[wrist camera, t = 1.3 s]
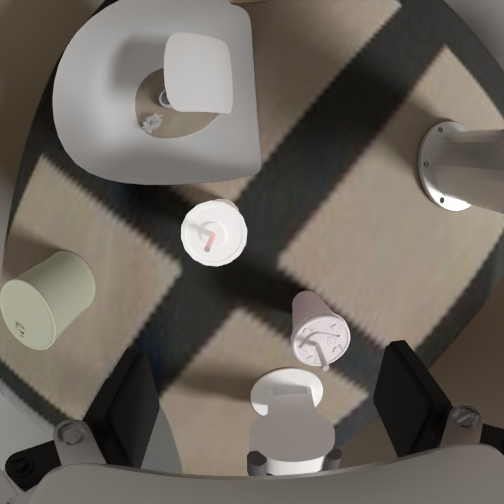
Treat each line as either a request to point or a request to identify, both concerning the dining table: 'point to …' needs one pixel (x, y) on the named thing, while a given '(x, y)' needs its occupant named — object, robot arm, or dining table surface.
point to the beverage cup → (214, 232)
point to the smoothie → (317, 331)
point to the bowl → (174, 96)
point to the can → (47, 299)
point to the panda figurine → (290, 426)
